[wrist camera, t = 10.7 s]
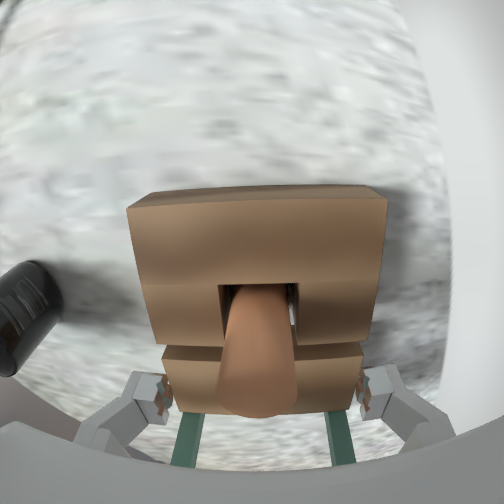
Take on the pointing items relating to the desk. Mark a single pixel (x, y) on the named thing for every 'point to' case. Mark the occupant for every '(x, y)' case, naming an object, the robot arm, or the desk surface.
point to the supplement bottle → (25, 313)
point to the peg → (258, 353)
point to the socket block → (261, 279)
